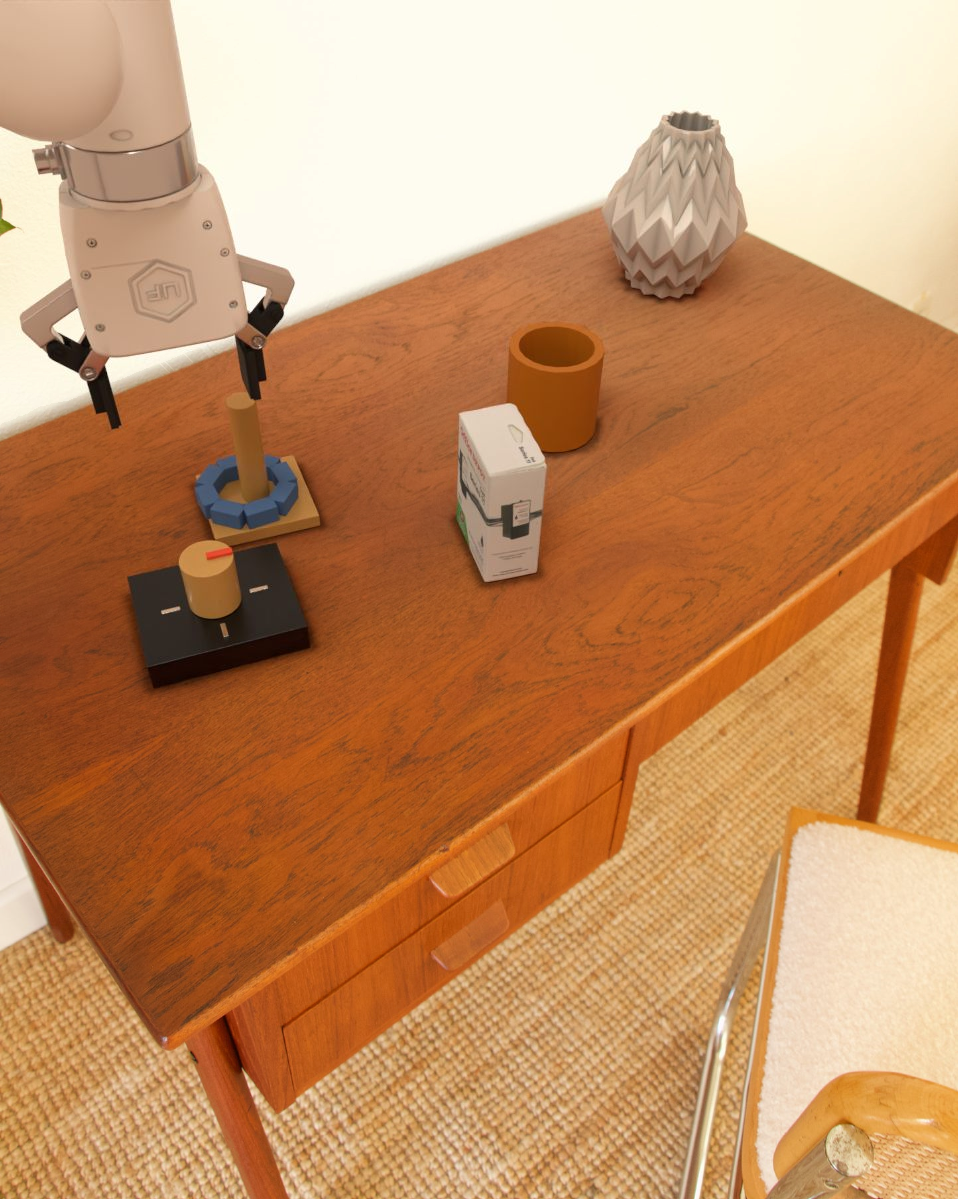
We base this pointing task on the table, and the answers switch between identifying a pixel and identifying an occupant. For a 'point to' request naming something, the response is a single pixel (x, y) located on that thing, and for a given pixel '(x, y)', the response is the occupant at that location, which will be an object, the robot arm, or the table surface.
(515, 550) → the ink box
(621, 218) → the vase
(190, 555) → the rotary dial knob
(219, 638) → the black dial base plate
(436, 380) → the table surface
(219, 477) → the segmented ring
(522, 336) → the mug
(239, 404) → the wooden peg stand
